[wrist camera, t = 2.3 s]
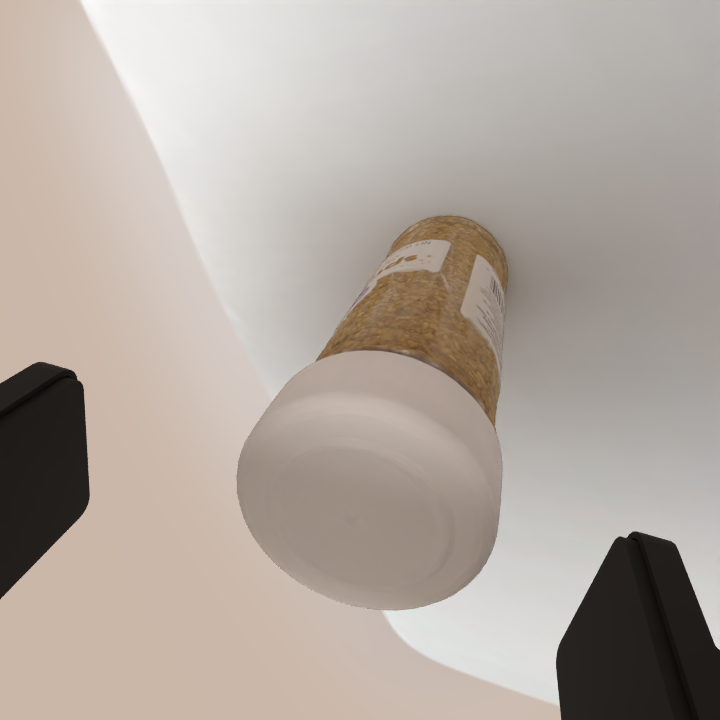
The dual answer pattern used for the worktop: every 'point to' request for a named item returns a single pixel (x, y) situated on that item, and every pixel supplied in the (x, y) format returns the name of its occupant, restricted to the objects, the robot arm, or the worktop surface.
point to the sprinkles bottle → (391, 432)
